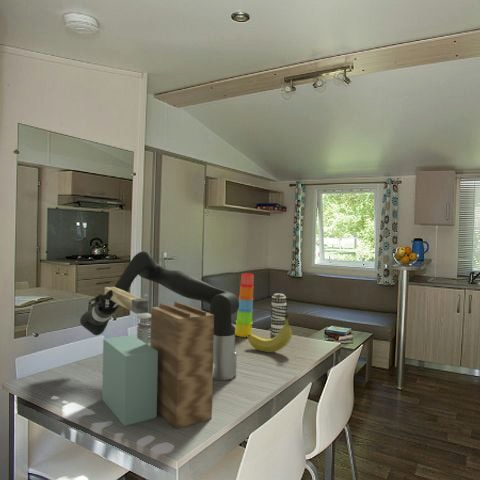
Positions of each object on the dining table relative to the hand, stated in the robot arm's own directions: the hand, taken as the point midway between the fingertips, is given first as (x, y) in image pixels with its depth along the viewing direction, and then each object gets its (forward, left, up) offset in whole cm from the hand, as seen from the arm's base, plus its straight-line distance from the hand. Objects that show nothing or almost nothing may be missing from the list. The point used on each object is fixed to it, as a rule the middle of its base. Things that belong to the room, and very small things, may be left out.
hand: (117, 292), depth 137 cm
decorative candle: (-96, -25, -36) cm, 106 cm away
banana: (-78, -11, -36) cm, 87 cm away
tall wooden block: (-13, +23, -36) cm, 44 cm away
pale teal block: (0, +13, -36) cm, 38 cm away
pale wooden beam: (0, +7, -3) cm, 8 cm away
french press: (-33, -55, -36) cm, 74 cm away
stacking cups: (-86, -43, -36) cm, 103 cm away
